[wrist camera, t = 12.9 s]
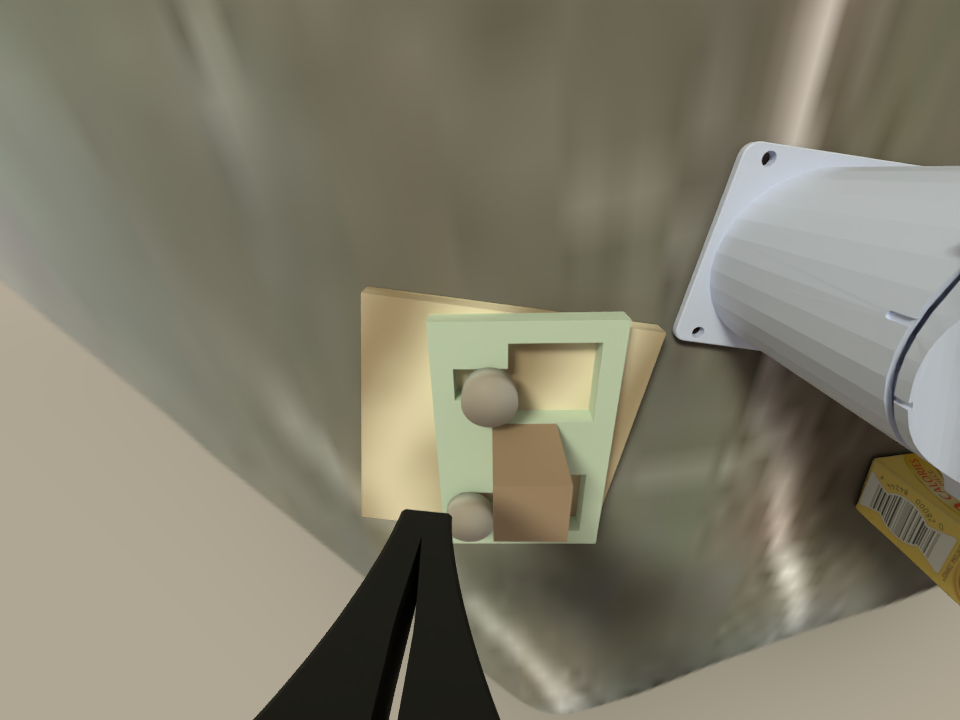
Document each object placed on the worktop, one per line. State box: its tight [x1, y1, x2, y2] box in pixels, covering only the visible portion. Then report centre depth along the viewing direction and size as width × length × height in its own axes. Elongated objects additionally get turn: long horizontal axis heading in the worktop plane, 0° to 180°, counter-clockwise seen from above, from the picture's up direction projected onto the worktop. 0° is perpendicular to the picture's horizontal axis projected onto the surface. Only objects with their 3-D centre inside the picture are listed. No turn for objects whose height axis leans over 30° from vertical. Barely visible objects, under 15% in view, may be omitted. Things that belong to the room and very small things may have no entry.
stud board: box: [361, 286, 666, 542], centre depth 19 cm, size 13×13×3 cm
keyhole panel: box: [426, 312, 631, 544], centre depth 18 cm, size 8×13×5 cm, turn 1°
